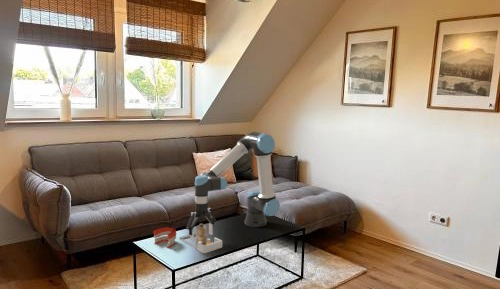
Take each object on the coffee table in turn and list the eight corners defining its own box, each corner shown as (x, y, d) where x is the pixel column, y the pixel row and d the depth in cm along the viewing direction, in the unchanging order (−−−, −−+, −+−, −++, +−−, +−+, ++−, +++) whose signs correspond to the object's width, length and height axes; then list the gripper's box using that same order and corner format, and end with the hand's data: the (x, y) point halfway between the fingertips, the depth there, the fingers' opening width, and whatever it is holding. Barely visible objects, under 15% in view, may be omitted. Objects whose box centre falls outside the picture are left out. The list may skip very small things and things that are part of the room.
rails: (194, 234, 231) (194, 232, 231) (214, 244, 217) (214, 242, 217) (179, 239, 223) (179, 237, 223) (198, 249, 209) (198, 247, 209)
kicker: (204, 241, 221) (204, 221, 219) (210, 244, 217) (210, 224, 215) (193, 244, 215) (193, 224, 213) (199, 247, 211) (199, 227, 209)
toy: (181, 242, 218) (180, 229, 217) (169, 248, 210) (168, 235, 208) (165, 238, 225) (165, 225, 224) (152, 243, 216) (152, 230, 215)
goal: (215, 243, 217) (215, 237, 217) (222, 247, 213) (222, 240, 212) (197, 249, 208) (197, 243, 208) (204, 253, 204) (204, 246, 203)
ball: (214, 247, 210) (210, 247, 213) (213, 240, 210) (209, 240, 213) (209, 249, 208) (205, 249, 211) (208, 242, 208) (204, 242, 211)
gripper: (214, 197, 224) (214, 230, 227) (179, 204, 207) (179, 240, 210) (222, 199, 219) (221, 233, 222) (187, 208, 202) (187, 244, 205)
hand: (201, 237), depth 216 cm, fingers open, 13 cm apart
